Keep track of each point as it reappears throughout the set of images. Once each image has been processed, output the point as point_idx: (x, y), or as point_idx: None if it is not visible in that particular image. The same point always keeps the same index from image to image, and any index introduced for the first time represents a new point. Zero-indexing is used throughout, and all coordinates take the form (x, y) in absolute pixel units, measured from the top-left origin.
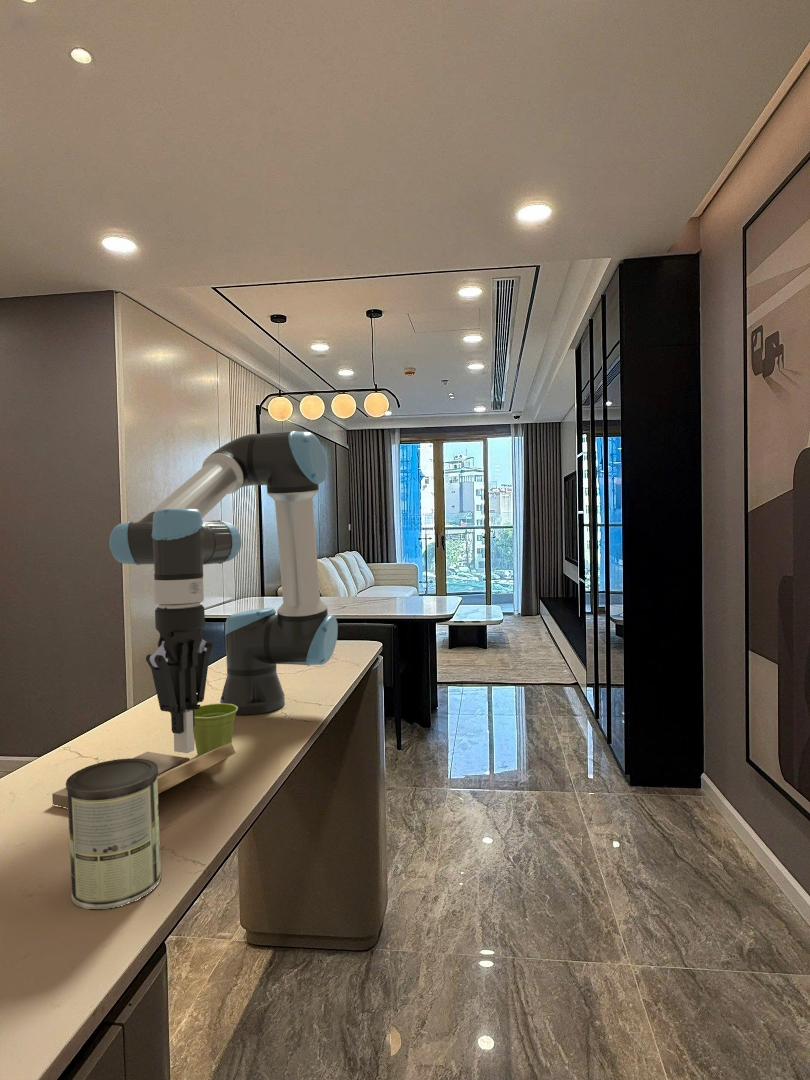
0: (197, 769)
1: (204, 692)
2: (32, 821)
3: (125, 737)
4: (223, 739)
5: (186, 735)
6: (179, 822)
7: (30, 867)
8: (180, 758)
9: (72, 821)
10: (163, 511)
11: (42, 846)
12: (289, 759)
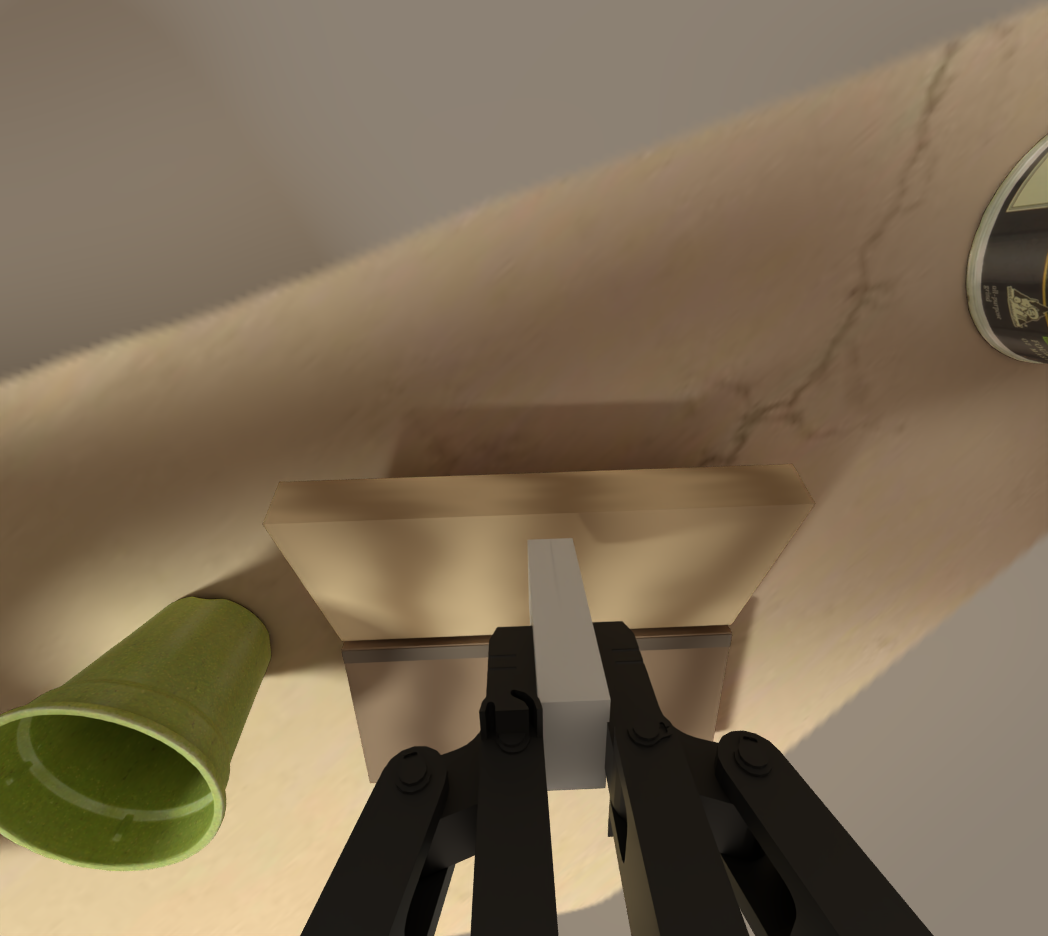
0: (524, 483)
1: (358, 824)
2: (777, 710)
3: (279, 903)
4: (179, 638)
5: (584, 594)
6: (691, 371)
7: (991, 536)
8: (359, 671)
9: None
10: None
11: (890, 595)
12: (55, 364)
